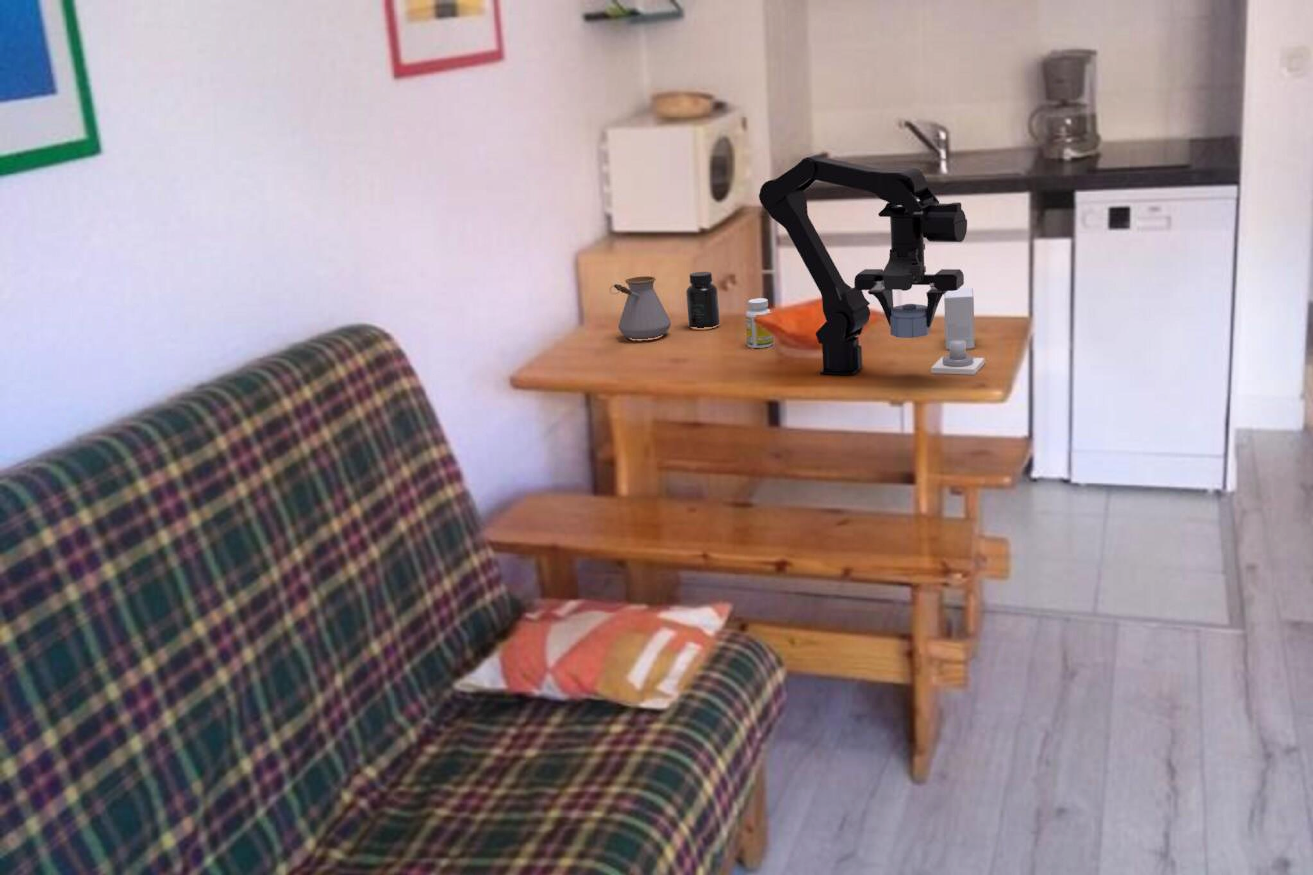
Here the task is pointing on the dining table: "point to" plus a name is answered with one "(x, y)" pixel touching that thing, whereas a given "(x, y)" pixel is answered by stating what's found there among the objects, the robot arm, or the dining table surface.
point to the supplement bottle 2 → (754, 332)
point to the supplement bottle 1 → (702, 301)
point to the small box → (959, 316)
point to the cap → (909, 321)
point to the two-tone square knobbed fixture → (958, 361)
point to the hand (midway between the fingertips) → (910, 326)
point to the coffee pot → (642, 310)
